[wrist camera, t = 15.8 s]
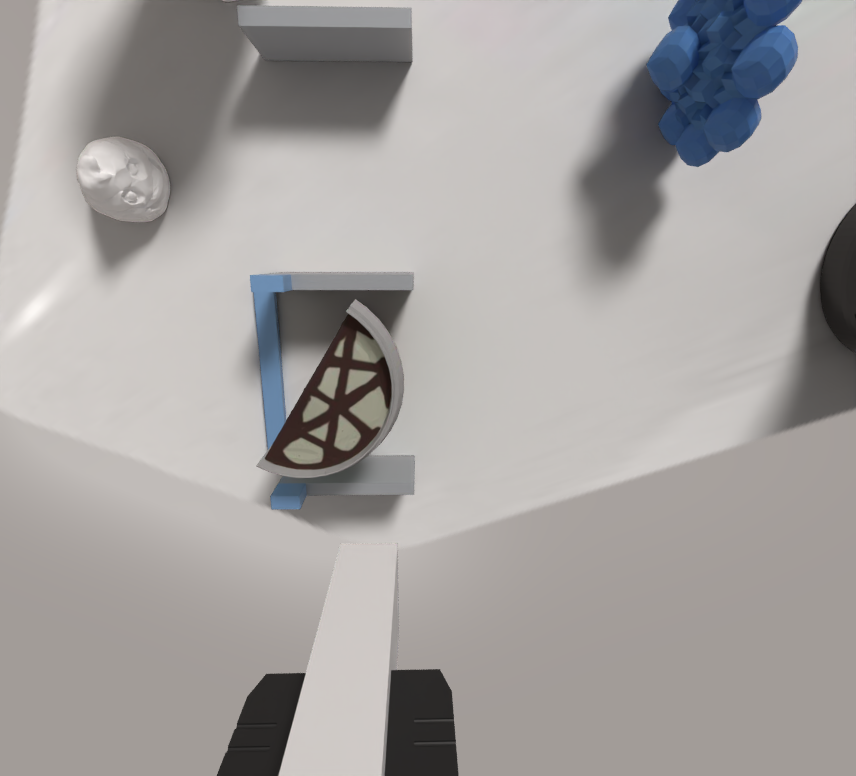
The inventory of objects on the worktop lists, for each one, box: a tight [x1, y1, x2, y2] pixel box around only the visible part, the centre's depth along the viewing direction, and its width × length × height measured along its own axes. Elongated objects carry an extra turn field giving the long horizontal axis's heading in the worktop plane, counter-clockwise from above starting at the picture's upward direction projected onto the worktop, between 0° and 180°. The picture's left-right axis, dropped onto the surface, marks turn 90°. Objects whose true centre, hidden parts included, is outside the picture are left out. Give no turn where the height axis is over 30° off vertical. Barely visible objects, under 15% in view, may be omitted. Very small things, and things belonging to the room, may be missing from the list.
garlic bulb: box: [77, 136, 170, 222], centre depth 31 cm, size 6×6×5 cm
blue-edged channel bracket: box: [237, 5, 415, 509], centre depth 33 cm, size 12×31×7 cm, turn 0°
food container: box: [257, 299, 404, 478], centre depth 34 cm, size 12×6×10 cm, turn 148°
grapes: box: [646, 0, 802, 167], centre depth 28 cm, size 12×7×12 cm, turn 8°
